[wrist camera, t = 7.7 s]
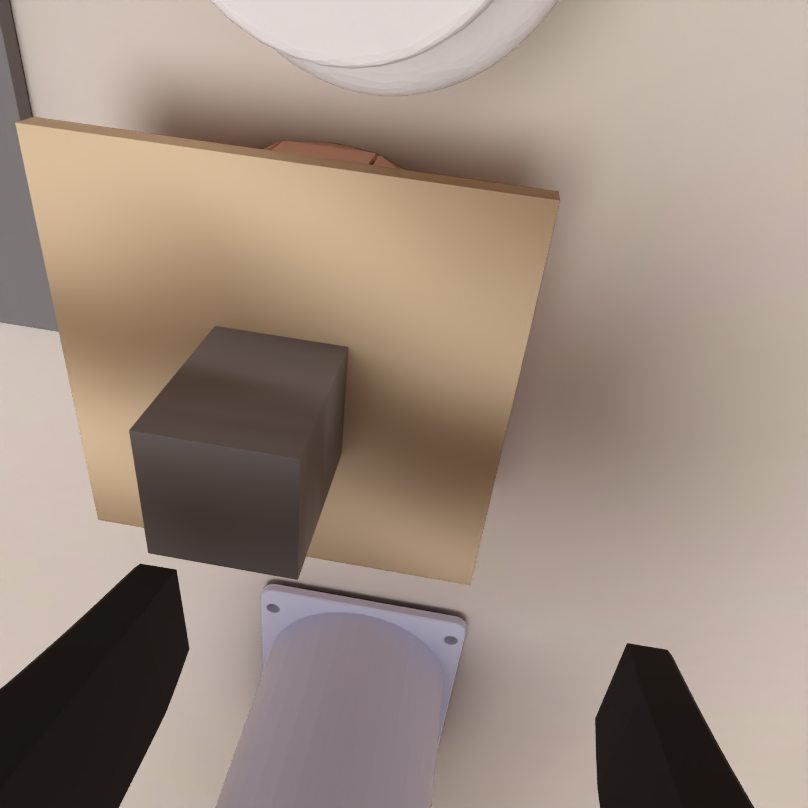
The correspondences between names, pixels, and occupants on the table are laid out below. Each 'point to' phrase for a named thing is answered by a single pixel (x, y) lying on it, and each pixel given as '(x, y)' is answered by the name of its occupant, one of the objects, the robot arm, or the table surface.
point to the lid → (286, 344)
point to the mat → (18, 201)
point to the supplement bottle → (389, 38)
